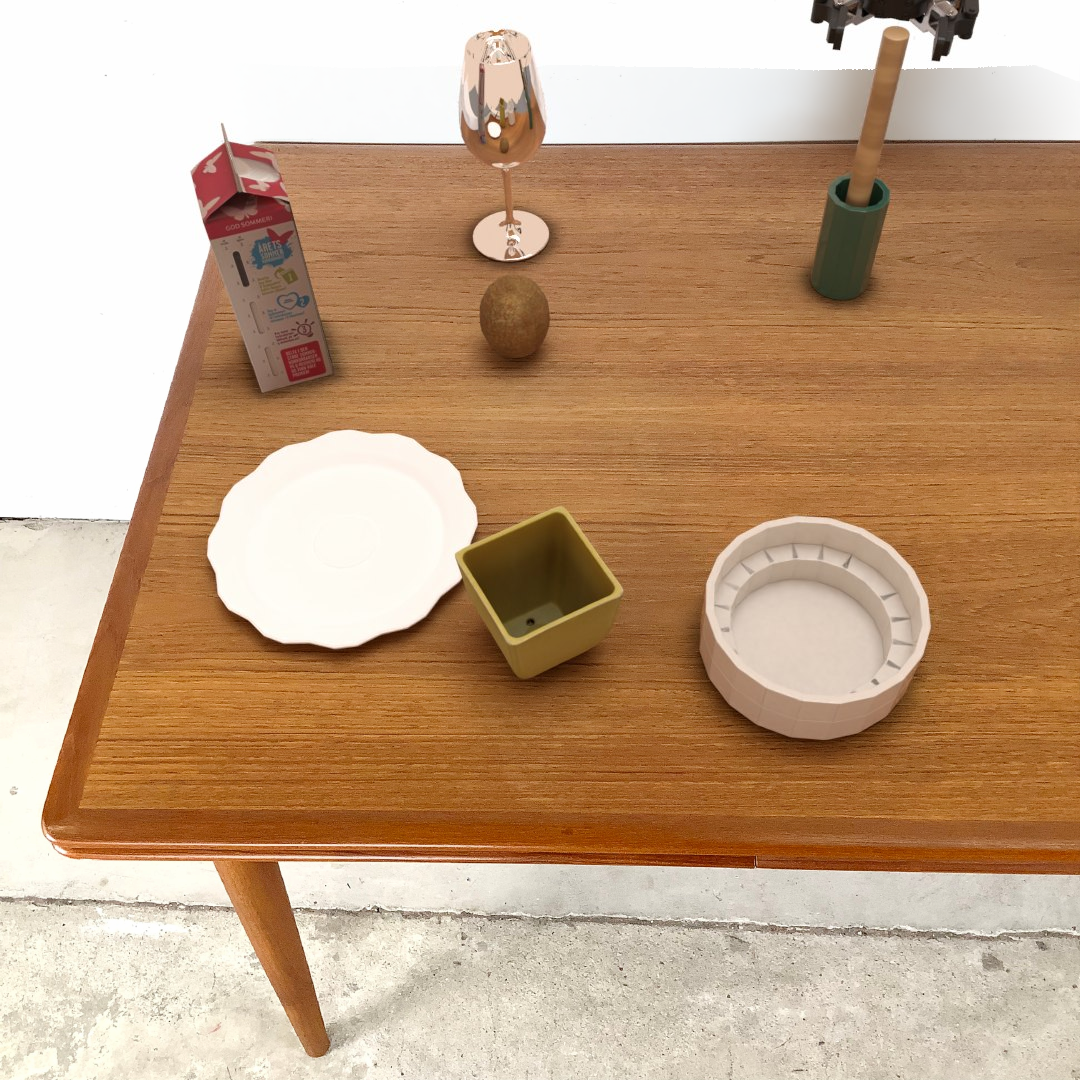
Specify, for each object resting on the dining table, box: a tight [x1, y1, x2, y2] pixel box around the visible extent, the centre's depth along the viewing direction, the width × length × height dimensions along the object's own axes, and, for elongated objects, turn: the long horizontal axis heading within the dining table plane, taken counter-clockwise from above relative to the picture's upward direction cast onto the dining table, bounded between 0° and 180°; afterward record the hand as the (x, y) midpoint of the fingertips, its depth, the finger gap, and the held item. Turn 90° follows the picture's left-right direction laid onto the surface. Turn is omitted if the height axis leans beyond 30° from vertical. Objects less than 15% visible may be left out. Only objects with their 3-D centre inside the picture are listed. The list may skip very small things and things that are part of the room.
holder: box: [810, 173, 891, 301], centre depth 101 cm, size 5×5×10 cm
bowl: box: [699, 515, 932, 741], centre depth 80 cm, size 15×15×6 cm
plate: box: [206, 429, 479, 650], centre depth 89 cm, size 21×21×2 cm
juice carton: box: [190, 122, 336, 393], centre depth 93 cm, size 7×7×22 cm
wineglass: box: [458, 28, 550, 263], centre depth 102 cm, size 8×8×20 cm
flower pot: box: [455, 505, 624, 680], centre depth 80 cm, size 9×9×9 cm
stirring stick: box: [845, 25, 911, 208], centre depth 95 cm, size 3×2×24 cm
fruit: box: [479, 273, 551, 359], centre depth 98 cm, size 6×6×8 cm
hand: (888, 46), depth 97 cm, fingers open, 8 cm apart
